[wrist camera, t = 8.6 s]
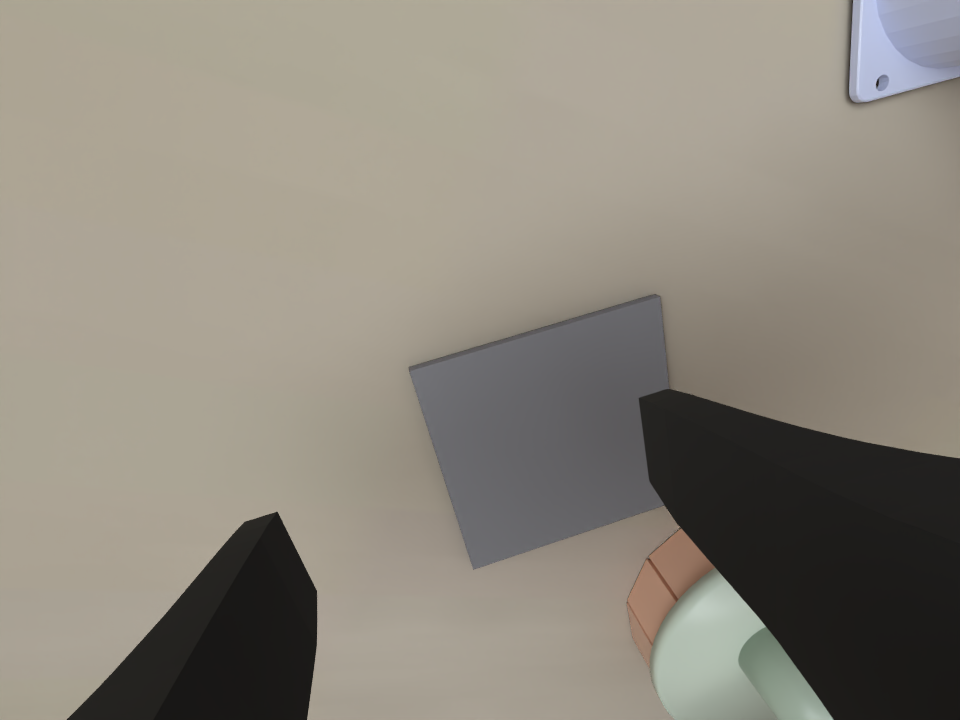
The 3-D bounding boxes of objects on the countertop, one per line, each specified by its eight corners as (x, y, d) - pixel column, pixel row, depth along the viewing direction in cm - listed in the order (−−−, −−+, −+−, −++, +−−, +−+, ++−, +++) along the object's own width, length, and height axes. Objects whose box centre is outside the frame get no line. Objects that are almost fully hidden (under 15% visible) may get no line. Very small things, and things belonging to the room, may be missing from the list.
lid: (805, 494, 22) (916, 580, 17) (893, 616, 26) (1000, 710, 21) (604, 654, 23) (659, 772, 18) (720, 745, 27) (788, 860, 23)
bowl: (812, 478, 25) (865, 516, 23) (808, 623, 30) (853, 670, 27) (617, 545, 25) (647, 593, 22) (640, 685, 29) (669, 740, 26)
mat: (654, 294, 20) (660, 296, 20) (675, 494, 24) (680, 499, 24) (408, 367, 19) (409, 371, 19) (471, 563, 23) (473, 569, 23)
